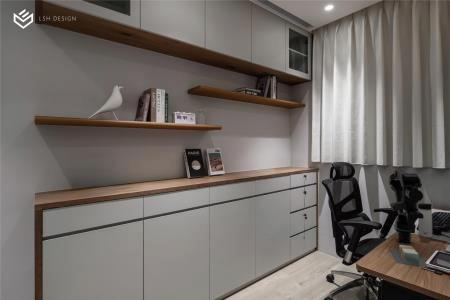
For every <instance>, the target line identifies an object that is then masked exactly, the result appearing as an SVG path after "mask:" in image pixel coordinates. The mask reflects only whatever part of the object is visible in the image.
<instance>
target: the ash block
mask: <svg viewBox="0 0 450 300" xmlns="http://www.w3.org/2000/svg"><path fill="white" fill-rule="evenodd" d="M398 248H399V249H398V251H400V256H401V258H402V259H403V261H404V262H405V264H404V265H406V264H410V265H409V266H413V265H417V266H416V267H420V266H419V256H420V254H419V253H418V252H417V251H416V250H415V247H413V246H411V245H404V244H399V247H398Z"/></svg>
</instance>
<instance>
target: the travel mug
mask: <svg viewBox="0 0 450 300" xmlns="http://www.w3.org/2000/svg"><path fill="white" fill-rule="evenodd" d="M432 205H433V204H432V203H417V208H418V211H419V212H421V213H422V214H423V216H424V219H419V218H418V219H417V221H418V223H417V224H418V236H419V237H421V238H424V239H432V238H433V215H432V213H433V211H432V207H433V206H432Z"/></svg>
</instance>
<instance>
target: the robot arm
mask: <svg viewBox="0 0 450 300" xmlns="http://www.w3.org/2000/svg"><path fill="white" fill-rule="evenodd" d="M388 185H389V186H390V189H391V190H392V191H393V192H394V197H395V202H392V203H389V205H390V208H391V211H392V212H397V213H398V214H397V217H396V219H395V222H394V225H393V227H394V231H395V232H396V233H397V238H395V240H396V241H397V242H398V243H399V244H403V245H404V244H406V245H414V243H413V242H412V239H411V238H412V237H411V235H412V234H415V233H416V228H417V225H416V221H418V218H419V219H424V216H423V214H422V213H421V212H419V211H418V204H419V202H421V201H422V200H423V199H424V193H423V192H422V191H421V190H420V189H421V188H422V186H423V183H422V180H421V177H420V176H419V175H418V174H417V173H411V172H410V173H409V172H406V171H405V170H403V169H402V170H401V169H400V170H399V169H398V170H397V169H396V170H394V171H393V173H392V174H391V175H389V178H388Z"/></svg>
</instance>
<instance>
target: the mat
mask: <svg viewBox="0 0 450 300" xmlns="http://www.w3.org/2000/svg"><path fill="white" fill-rule="evenodd" d="M388 251H389V253H390V254H391V256H392V258H393V259H394V261H395V263H396V264H401V265H407V266H411V265H410V264H405V262H404V261H403V259H402V258H401V256H400V250H396V249H388ZM412 266H415V267H420V268H429V269H430V266H429V265H428V264H427V263H426V262H425V261H424V259H423V258H422V257H421V255H419V266H417V265H412Z"/></svg>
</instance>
